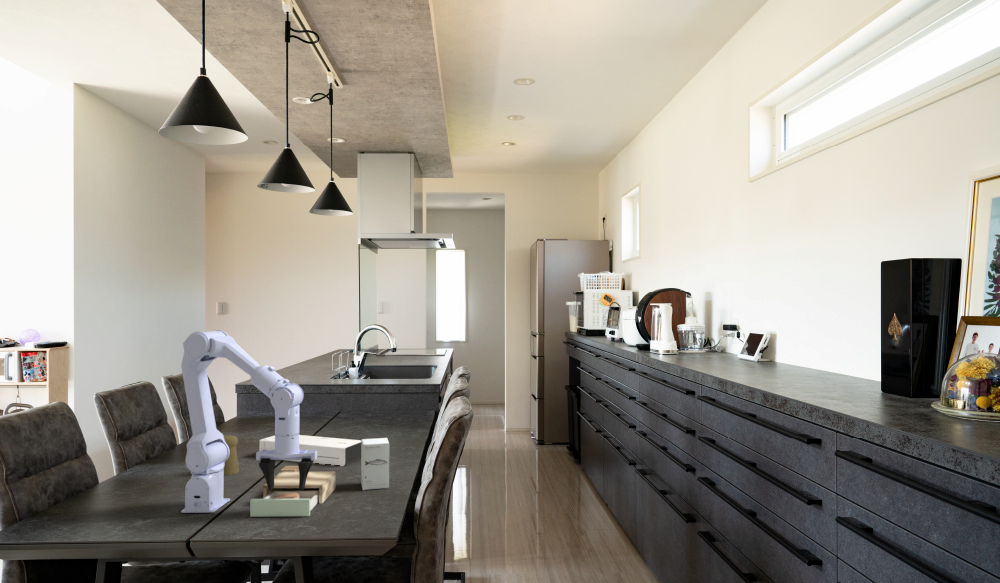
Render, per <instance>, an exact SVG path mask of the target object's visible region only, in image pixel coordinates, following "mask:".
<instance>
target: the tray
mask: <svg viewBox="0 0 1000 583" xmlns="http://www.w3.org/2000/svg"><path fill="white" fill-rule="evenodd" d="M283 493H298V494H299V499H275V497H276V496H277V495H280V494H283ZM249 502H250V504H249V506H250V507H249V509H250V512H249V515H250V516H249V517H250V518H252V517H255V518H256V517H259V518H261V517H263V518H264V517H310V516H311V511H312V510H313V509H314V508H315V507H316V505H317V504H319V490H282V491H272V492H271V493H270V494H269V495H268V496H266V497H265V498H264V499H263V498H251V499H250V500H249Z"/></svg>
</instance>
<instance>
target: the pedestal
mask: <svg viewBox="0 0 1000 583" xmlns="http://www.w3.org/2000/svg"><path fill="white" fill-rule="evenodd" d="M280 472H299V467H298V465H285V466H284V467H282V468H281V469H280Z"/></svg>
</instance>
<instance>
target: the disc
mask: <svg viewBox="0 0 1000 583" xmlns="http://www.w3.org/2000/svg"><path fill="white" fill-rule="evenodd" d="M275 499H299V494H298V493H283V494H280V495H277V496H276V497H275Z"/></svg>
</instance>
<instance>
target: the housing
mask: <svg viewBox="0 0 1000 583" xmlns="http://www.w3.org/2000/svg"><path fill="white" fill-rule="evenodd" d="M336 472H337V471H333V470H331V471H321V470H320V471H309V472H308V475H307V479H306V483H305V488H304V489H303V490H318V491H319V502H318V504H324V502H325V501H326V500H327V499H328V498H329V496H330V495H331V494H332V493H333V492H334V491H335V489H336V474H337V473H336ZM262 488H263V490H262V495H263V496H262V499H264V498H265V497H266V496H268V495H269V494H270V493H271V492H272V491H284V490H299V472H281V471H280V472H278V473H277V474H276V475H274V488H273V489H272V490H268V486H267V482H266V483H265V484H263V486H262Z"/></svg>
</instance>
